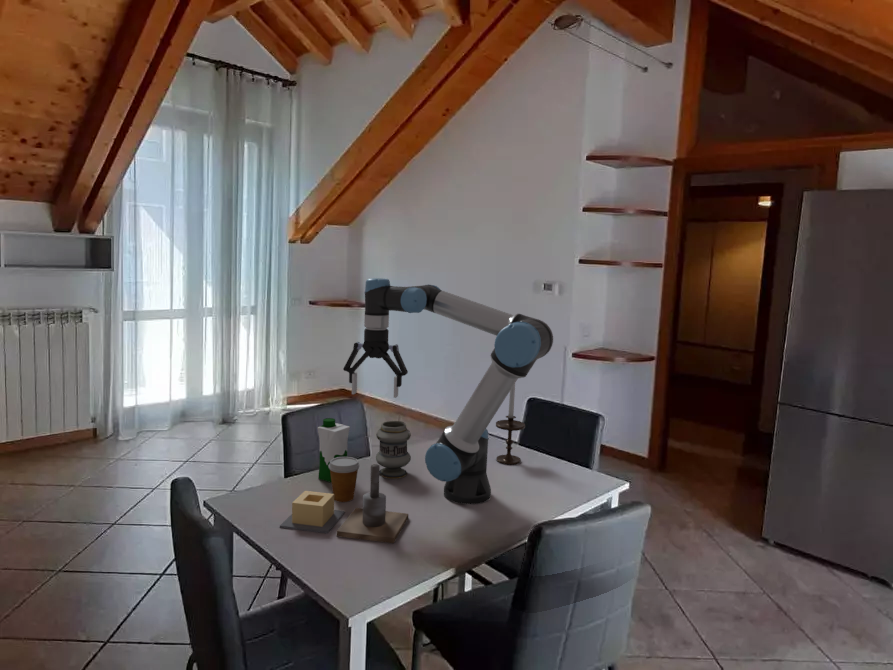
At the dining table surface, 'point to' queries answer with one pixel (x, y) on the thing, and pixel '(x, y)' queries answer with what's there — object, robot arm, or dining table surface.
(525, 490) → the dining table surface
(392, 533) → the stand
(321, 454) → the milk carton
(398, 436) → the apothecary jar
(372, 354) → the robot arm
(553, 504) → the dining table surface
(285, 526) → the mat
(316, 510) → the collar
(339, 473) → the disposable coffee cup
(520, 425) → the candlestick
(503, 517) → the dining table surface
